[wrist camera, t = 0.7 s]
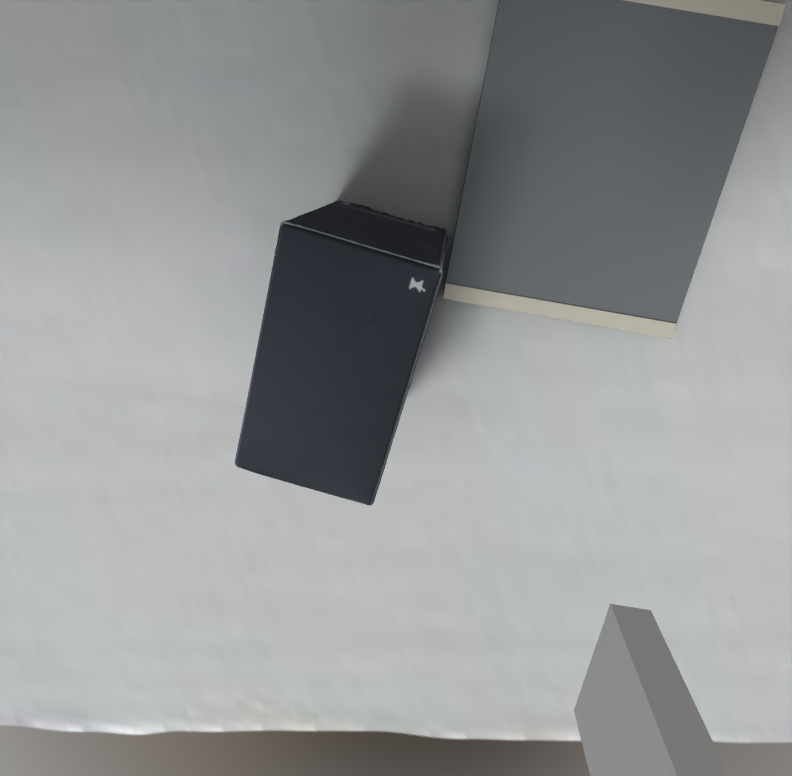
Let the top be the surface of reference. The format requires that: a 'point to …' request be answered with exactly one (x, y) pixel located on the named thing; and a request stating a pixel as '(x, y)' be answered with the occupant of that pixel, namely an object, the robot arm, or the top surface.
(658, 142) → the mat
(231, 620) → the top surface
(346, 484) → the small box
